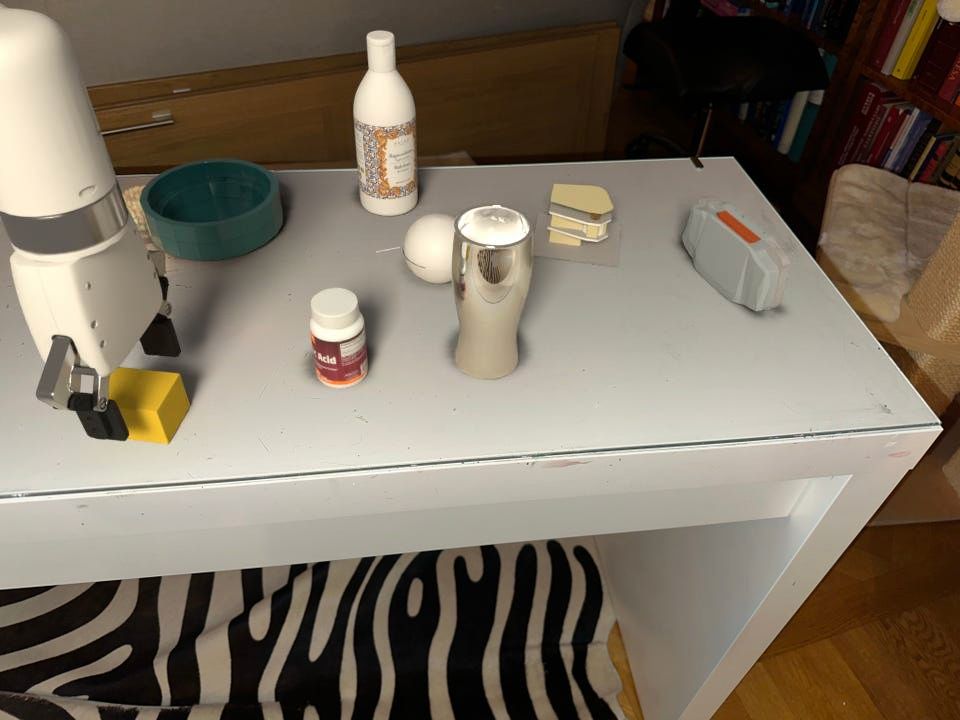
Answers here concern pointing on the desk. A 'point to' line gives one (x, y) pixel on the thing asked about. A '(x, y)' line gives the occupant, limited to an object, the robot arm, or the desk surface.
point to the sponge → (149, 402)
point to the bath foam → (385, 132)
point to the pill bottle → (338, 338)
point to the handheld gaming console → (736, 255)
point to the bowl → (212, 209)
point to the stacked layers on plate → (578, 226)
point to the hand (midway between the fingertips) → (138, 392)
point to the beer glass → (490, 286)
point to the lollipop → (430, 247)
